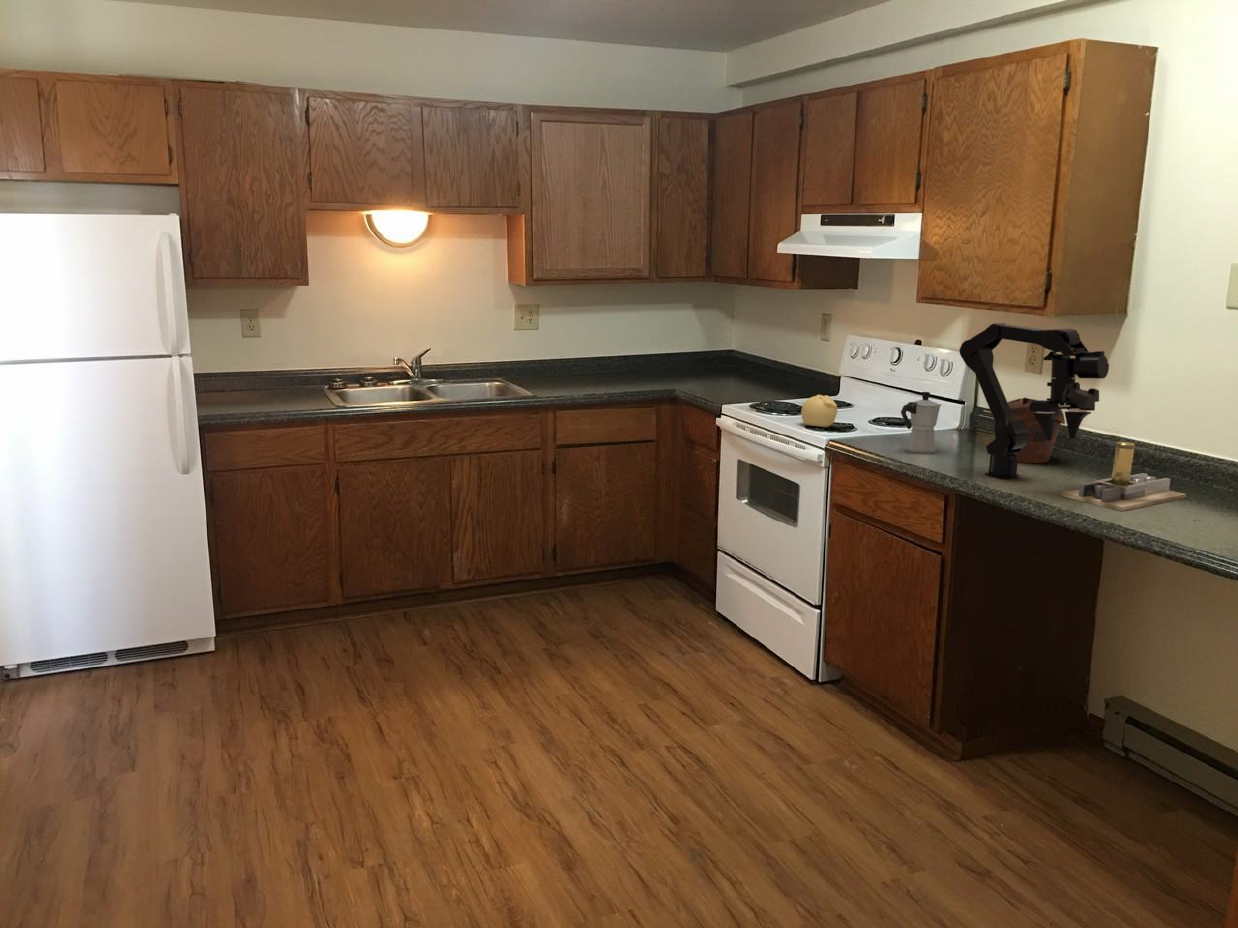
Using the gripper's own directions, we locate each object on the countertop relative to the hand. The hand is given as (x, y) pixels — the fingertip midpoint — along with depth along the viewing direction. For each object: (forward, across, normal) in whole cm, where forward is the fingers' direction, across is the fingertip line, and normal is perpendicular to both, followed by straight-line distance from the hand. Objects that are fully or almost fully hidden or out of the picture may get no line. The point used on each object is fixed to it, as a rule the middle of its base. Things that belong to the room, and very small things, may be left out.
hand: (1060, 439), depth 257 cm
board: (+14, +9, -12) cm, 21 cm away
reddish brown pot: (+8, +25, +30) cm, 40 cm away
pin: (+13, +6, -12) cm, 19 cm away
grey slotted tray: (+13, +9, -12) cm, 20 cm away
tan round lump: (+2, +2, +96) cm, 96 cm away
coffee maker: (+7, +3, +51) cm, 52 cm away
